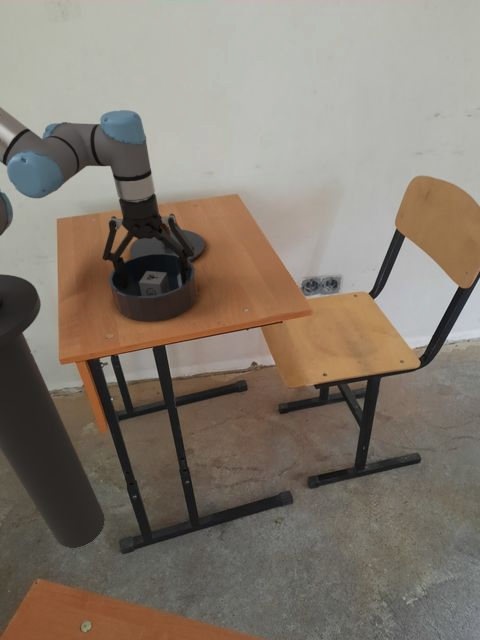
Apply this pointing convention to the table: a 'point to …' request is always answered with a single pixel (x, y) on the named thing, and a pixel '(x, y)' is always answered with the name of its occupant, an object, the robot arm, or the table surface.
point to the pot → (158, 305)
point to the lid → (157, 246)
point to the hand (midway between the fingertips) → (155, 283)
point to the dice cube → (154, 283)
